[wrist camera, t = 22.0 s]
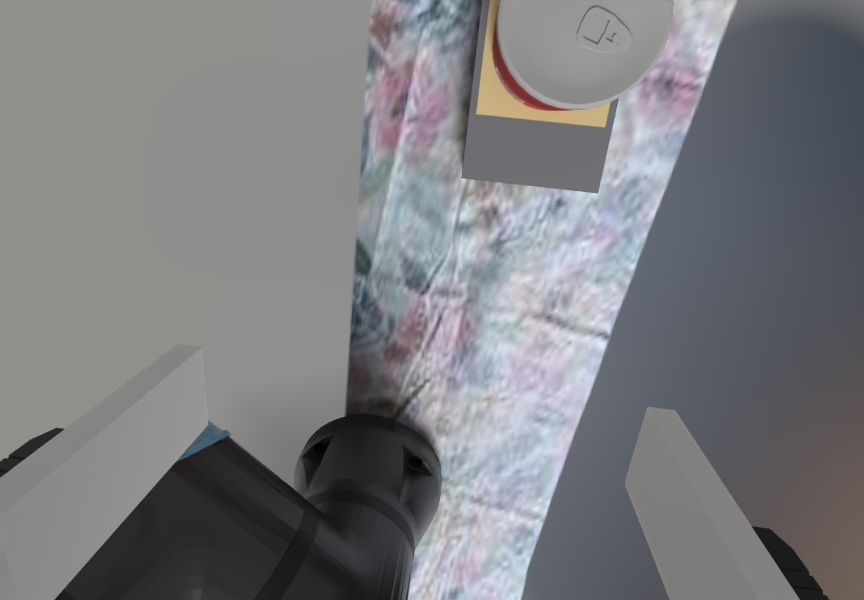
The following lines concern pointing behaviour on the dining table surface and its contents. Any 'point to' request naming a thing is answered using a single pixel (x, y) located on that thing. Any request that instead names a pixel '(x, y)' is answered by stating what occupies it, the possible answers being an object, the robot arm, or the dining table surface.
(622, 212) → the dining table surface
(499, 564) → the dining table surface
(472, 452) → the dining table surface
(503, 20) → the canned food
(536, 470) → the dining table surface
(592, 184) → the breaker housing
